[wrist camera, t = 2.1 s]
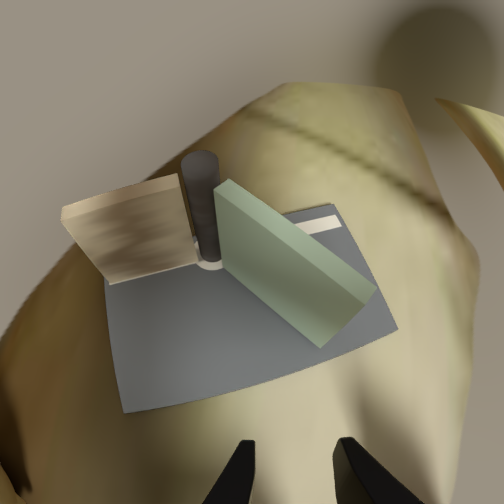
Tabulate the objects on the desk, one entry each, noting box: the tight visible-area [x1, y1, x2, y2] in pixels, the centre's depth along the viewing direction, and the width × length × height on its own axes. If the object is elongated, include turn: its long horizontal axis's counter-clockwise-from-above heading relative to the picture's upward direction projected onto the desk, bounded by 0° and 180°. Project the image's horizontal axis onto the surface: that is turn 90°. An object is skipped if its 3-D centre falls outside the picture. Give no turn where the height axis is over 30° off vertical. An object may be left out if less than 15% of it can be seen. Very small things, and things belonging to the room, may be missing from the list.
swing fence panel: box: [213, 179, 377, 348], centre depth 18 cm, size 10×1×9 cm, turn 47°
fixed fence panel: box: [61, 150, 222, 284], centre depth 20 cm, size 10×2×10 cm, turn 107°
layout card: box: [104, 204, 398, 413], centre depth 23 cm, size 22×14×1 cm, turn 107°
